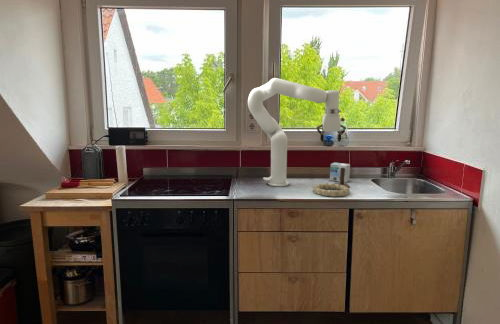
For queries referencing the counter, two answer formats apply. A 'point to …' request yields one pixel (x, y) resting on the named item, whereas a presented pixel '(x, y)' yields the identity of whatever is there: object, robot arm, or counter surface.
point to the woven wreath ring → (340, 190)
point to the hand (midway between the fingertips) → (330, 141)
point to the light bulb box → (336, 169)
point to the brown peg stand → (342, 177)
